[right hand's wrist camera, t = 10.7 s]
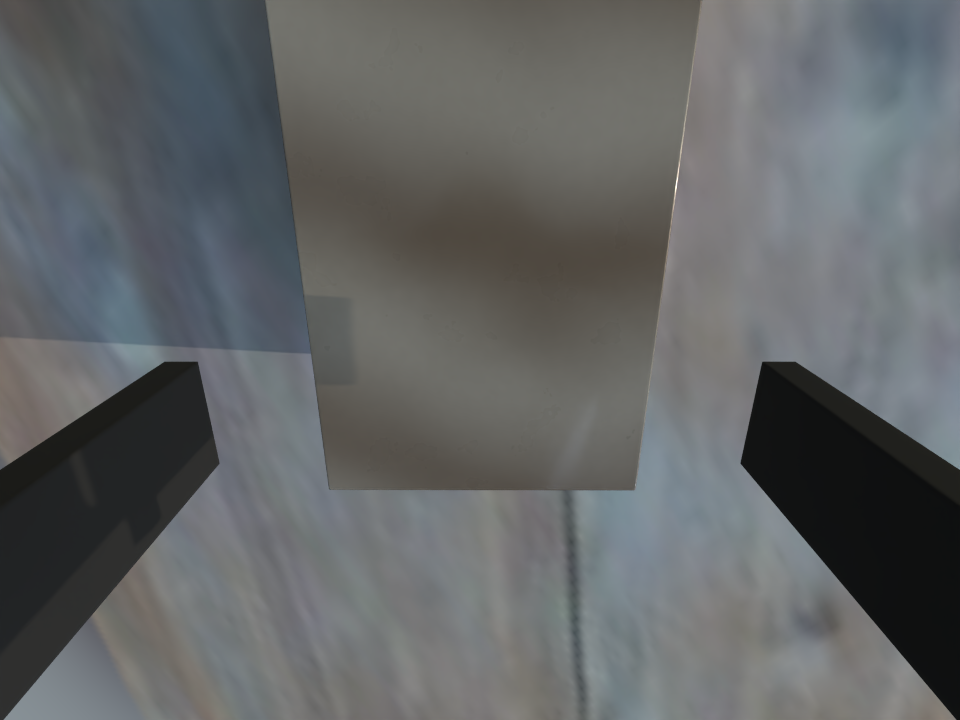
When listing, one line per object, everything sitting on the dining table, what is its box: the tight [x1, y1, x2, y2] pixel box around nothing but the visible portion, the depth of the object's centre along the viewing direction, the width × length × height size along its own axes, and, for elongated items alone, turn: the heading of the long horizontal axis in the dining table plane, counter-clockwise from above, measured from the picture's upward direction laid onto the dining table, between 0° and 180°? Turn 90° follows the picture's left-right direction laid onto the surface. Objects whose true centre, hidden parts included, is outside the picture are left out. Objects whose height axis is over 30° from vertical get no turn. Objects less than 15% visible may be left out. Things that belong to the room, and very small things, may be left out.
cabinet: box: [265, 0, 702, 490], centre depth 19 cm, size 18×10×11 cm, turn 0°
